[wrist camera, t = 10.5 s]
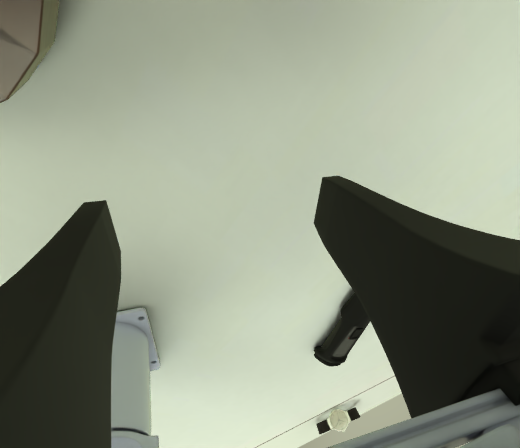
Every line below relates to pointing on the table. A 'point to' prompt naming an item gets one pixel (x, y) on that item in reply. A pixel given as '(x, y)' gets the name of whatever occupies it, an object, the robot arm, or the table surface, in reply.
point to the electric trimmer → (343, 333)
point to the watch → (338, 420)
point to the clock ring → (24, 40)
